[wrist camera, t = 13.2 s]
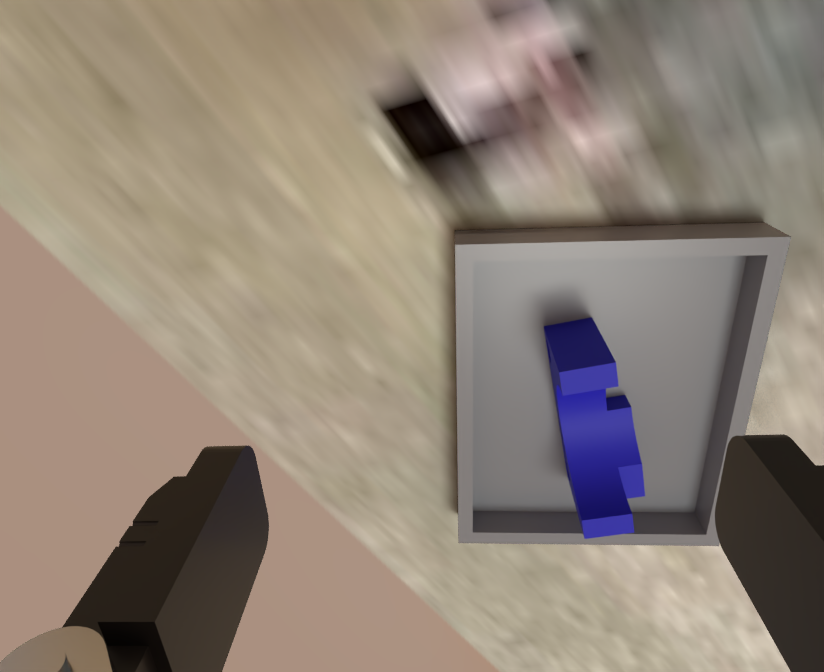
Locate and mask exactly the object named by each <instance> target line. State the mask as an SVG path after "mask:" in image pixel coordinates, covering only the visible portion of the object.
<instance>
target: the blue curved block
mask: <svg viewBox="0 0 824 672" xmlns="http://www.w3.org/2000/svg"><path fill="white" fill-rule="evenodd" d="M544 333H545V339H546V345H547V351H548V358H549V364H550V370H551V377H552V383H553V389H554V395H555V402H556V408H557V414H558V420H559V427H560V433H561V439H562V446H563V452H564V458H565V464H566V471H567V477H568V481H569V484H570V488H571V492H572V495H573V499H574V503H575V506H576V510H577V513H578V517H579V521H580V524H581V528H582V532H583V535H584V539H589V538H597V537H604V536H612V535H619V534H627V533H634V525H633V516H632V512H631V509H630V506H629V503H628V500H627V499H628V498H636V497H643V496H645V489H644V478H643V467H642V461H641V457H640V453H639V449H638V444H637V440H636V435H635V429H634V423H633V417H632V408H631V405H630V403H629V401H628V399H627V397H626V395H621V396H615V397H609V398H606V389H607V388H613V387H619V385H618V376H617V366H616V361H615V359H614V358H613V356H612V354H611V352H610V350H609V348H608V346H607V344H606V343H605V341H604V339H603V337H602V335H601V333H600V331H599V329H598V328H597V326H596V324H595V322H594V320H593V318H592V317H591V318H585V319H580V320H575V321H569V322H564V323H559V324H553V325H548V326H544Z"/></svg>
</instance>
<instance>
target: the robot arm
mask: <svg viewBox="0 0 824 672" xmlns="http://www.w3.org/2000/svg"><path fill="white" fill-rule="evenodd" d="M715 525H716V531H717V535H718V539H719V542H720V544H721V547H722V549H723V551H724V553H725V554H726V556H727V558H728V560H729V562H730V563H731V565H732V567H733V569H734V571H735V572H736V574H737V576H738V578H739V579H740V581H741V583H742V585H743V587H744V588H745V590H746V592H747V594H748V596H749V597H750V599H751V601H752V603H753V605H754V606H755V608H756V610H757V612H758V613H759V615H760V617H761V619H762V621H763V622H764V624H765V626H766V628H767V630H768V631H769V633H770V635H771V637H772V639H773V640H774V642H775V644H776V646H777V648H778V649H779V651H780V653H781V655H782V656H783V658H784V660H785V662H786V664H787V665H788V667H789V669H790V671H791V672H824V465H822V466H815V464H814V463H813V462H812V461H811V460H810V459H809V458H808V457H807V456H806V454H805V453H804V452H803V451H802V450H801V449H800V448H799V447H798V446H797V444H796V443H795V442H794V441H793V440H792V439H791V438H790V437H788V436H787V435H742V436H734V437H732V438H731V440H730V441H729V443H728V446H727V451H726V456H725V461H724V466H723V471H722V476H721V481H720V487H719V492H718V497H717V502H716V507H715ZM268 531H269V522H268V513H267V508H266V503H265V499H264V494H263V489H262V485H261V480H260V475H259V471H258V466H257V461H256V457H255V453H254V451H253V449H252V448H251V447H250V446H214V447H205V448H204V449H203V450H202V451H201V453H200V455H199V456H198V458H197V459H196V461H195V463H194V464H193V466H192V467H191V469H190V471H189V472H188V474H187V476H186V477H173V478H172V479H171V480H169V481H168V482H167V483H166V484H165V485H163V486H162V487H161V488H160V489H158V490H157V491H156V492H155V493H154V494H153V495H151V496H150V497H149V498H148V499H147V501H146V502H145V504H144V505H143V507H142V508H141V510H140V511H139V513H138V514H137V516H136V517H135V519H134V520H133V526H129V528H128V529H127V531H126V532H125V534H124V535H123V537H122V538H121V540H120V544H119V547H115V549H114V550H113V552H112V553H111V555H110V556H109V558H108V560H107V561H106V562H105V564H104V565H103V567H102V569H101V570H100V572H99V573H98V574H97V576H96V578H95V579H94V581H93V582H92V584H91V585H90V587H89V588H88V589H87V591H86V593H85V594H84V596H83V597H82V598H81V600H80V601H79V603H78V605H77V606H76V607H75V609H74V610H73V612H72V614H71V615H70V617H69V618H68V620H67V621H66V623H65V624H64V625H63V627H62V628H59V629H55V630H51V631H48V632H46V633H43V634H41V635H39V636H37V637H35V638H33V639H31V640H29V641H27V642H26V643H24V644H22V645H21V646H19V647H18V648H16V649H15V650H14V651H13V652H11V653H10V654H9V655H7V656H6V657H5V658H4V659H3V660H2V661H1V662H0V672H222V670H223V667H224V664H225V661H226V658H227V656H228V653H229V650H230V648H231V645H232V642H233V639H234V637H235V634H236V631H237V628H238V625H239V623H240V620H241V617H242V614H243V612H244V609H245V606H246V603H247V600H248V598H249V595H250V592H251V589H252V586H253V584H254V581H255V578H256V575H257V573H258V570H259V567H260V564H261V562H262V559H263V556H264V553H265V550H266V546H267V541H268Z"/></svg>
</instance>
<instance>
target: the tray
mask: <svg viewBox="0 0 824 672" xmlns="http://www.w3.org/2000/svg"><path fill="white" fill-rule="evenodd" d="M790 240H791V236H789V235H787V234H785V233H783V232H781V231H780V230H778V229H776V228H774V227H772V226H770V225H768V224H767V223H765V222H764V223H725V224H686V225H647V226H608V227H569V228H530V229H491V230H455V295H456V379H457V463H458V538H459V543H499V544H589V545H679V546H719V543H720V542H719V539H718V535H717V531H716V525H715V507H716V502H717V497H718V492H719V487H720V481H721V476H722V471H723V466H724V461H725V456H726V451H727V446H728V443H729V441H730V440H731V438H732V437H734V436H742V435H745V432H746V428H747V424H748V419H749V415H750V411H751V406H752V402H753V398H754V394H755V389H756V385H757V381H758V376H759V372H760V368H761V364H762V359H763V355H764V351H765V347H766V342H767V338H768V334H769V329H770V325H771V321H772V317H773V312H774V308H775V304H776V300H777V295H778V291H779V287H780V282H781V278H782V274H783V270H784V265H785V261H786V257H787V252H788V248H789V244H790ZM591 317H592V318H593V320H594V322H595V324H596V326H597V328H598V329H599V331H600V333H601V335H602V337H603V339H604V341H605V343H606V344H607V346H608V348H609V350H610V352H611V354H612V356H613V358H614V359H615V361H616V366H617V376H618V385H619V387H613V388H607V389H606V398H609V397H615V396H621V395H626V397H627V399H628V401H629V403H630V405H631V408H632V417H633V423H634V429H635V435H636V440H637V444H638V449H639V453H640V457H641V461H642V467H643V478H644V489H645V496H643V497H636V498H628V499H627V500H628V503H629V506H630V509H631V512H632V516H633V525H634V533H627V534H619V535H612V536H604V537H597V538H589V539H584V535H583V532H582V528H581V524H580V521H579V517H578V513H577V510H576V506H575V503H574V499H573V495H572V492H571V488H570V484H569V481H568V477H567V471H566V464H565V458H564V452H563V446H562V439H561V433H560V427H559V420H558V414H557V408H556V402H555V395H554V389H553V383H552V377H551V370H550V364H549V358H548V351H547V345H546V339H545V333H544V326H548V325H553V324H559V323H564V322H569V321H575V320H580V319H585V318H591Z"/></svg>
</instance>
